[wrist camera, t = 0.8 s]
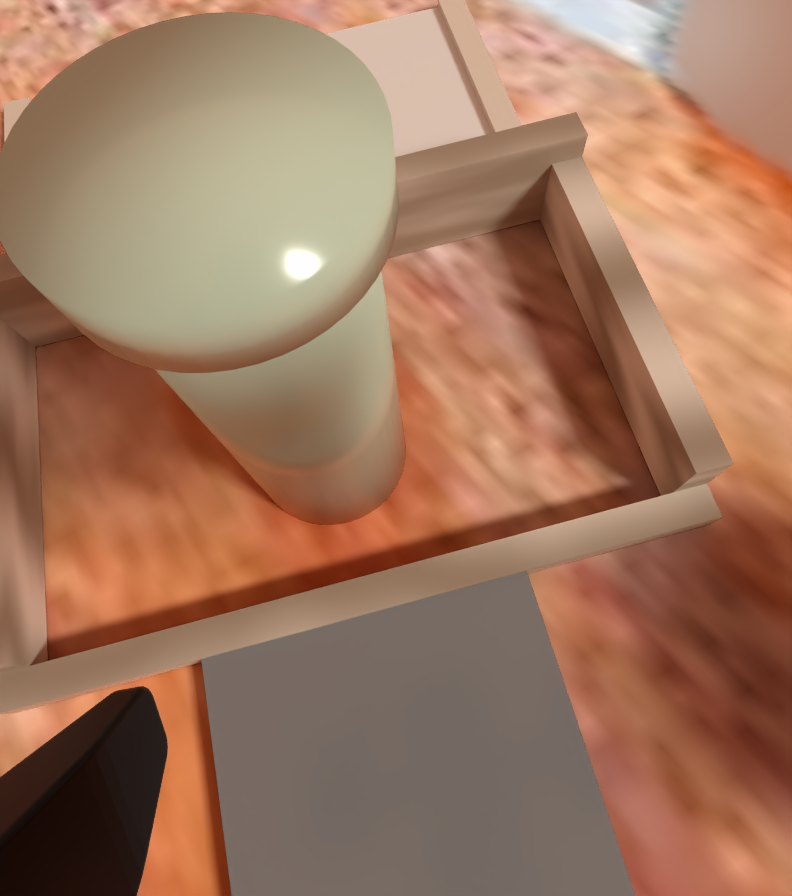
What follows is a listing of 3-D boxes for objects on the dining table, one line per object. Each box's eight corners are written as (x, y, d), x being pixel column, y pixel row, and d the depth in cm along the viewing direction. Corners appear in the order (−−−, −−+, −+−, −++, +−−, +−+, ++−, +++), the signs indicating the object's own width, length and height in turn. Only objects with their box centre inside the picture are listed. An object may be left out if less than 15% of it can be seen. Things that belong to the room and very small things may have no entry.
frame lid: (538, 187, 27) (542, 170, 26) (23, 317, 26) (7, 304, 25) (460, 13, 31) (461, -8, 30) (17, 120, 30) (3, 102, 30)
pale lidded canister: (381, 564, 21) (292, 378, 8) (215, 503, 23) (-90, 258, 10) (443, 402, 23) (449, 51, 10) (288, 354, 25) (119, -15, 12)
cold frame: (710, 524, 21) (768, 490, 17) (14, 713, 20) (-82, 719, 17) (557, 191, 27) (576, 111, 23) (6, 330, 26) (-66, 271, 22)
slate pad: (648, 950, 17) (658, 962, 16) (263, 1062, 17) (255, 1080, 16) (520, 567, 21) (524, 562, 20) (208, 651, 21) (199, 650, 20)
